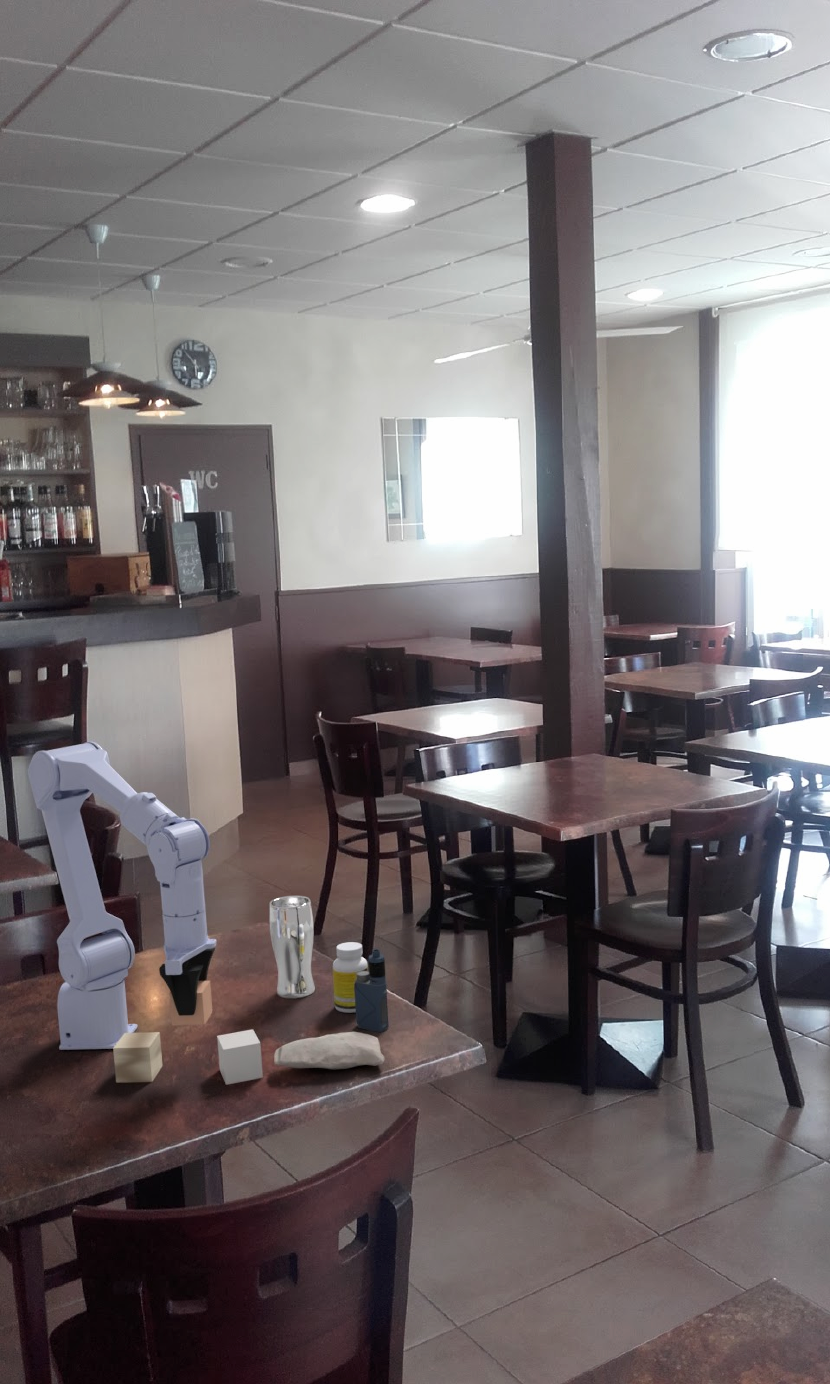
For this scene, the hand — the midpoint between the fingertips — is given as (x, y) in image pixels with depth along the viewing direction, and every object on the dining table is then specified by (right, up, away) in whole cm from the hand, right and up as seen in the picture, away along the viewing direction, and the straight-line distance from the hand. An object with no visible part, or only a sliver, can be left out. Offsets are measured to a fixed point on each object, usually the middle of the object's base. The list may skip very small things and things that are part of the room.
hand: (191, 1007), depth 162 cm
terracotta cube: (0, -2, 0) cm, 2 cm away
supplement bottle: (+21, -6, +22) cm, 31 cm away
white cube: (+7, -9, 0) cm, 11 cm away
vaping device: (+24, -7, +13) cm, 29 cm away
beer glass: (+11, -6, +29) cm, 32 cm away
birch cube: (-7, -10, +2) cm, 12 cm away
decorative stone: (+19, -9, +2) cm, 21 cm away
